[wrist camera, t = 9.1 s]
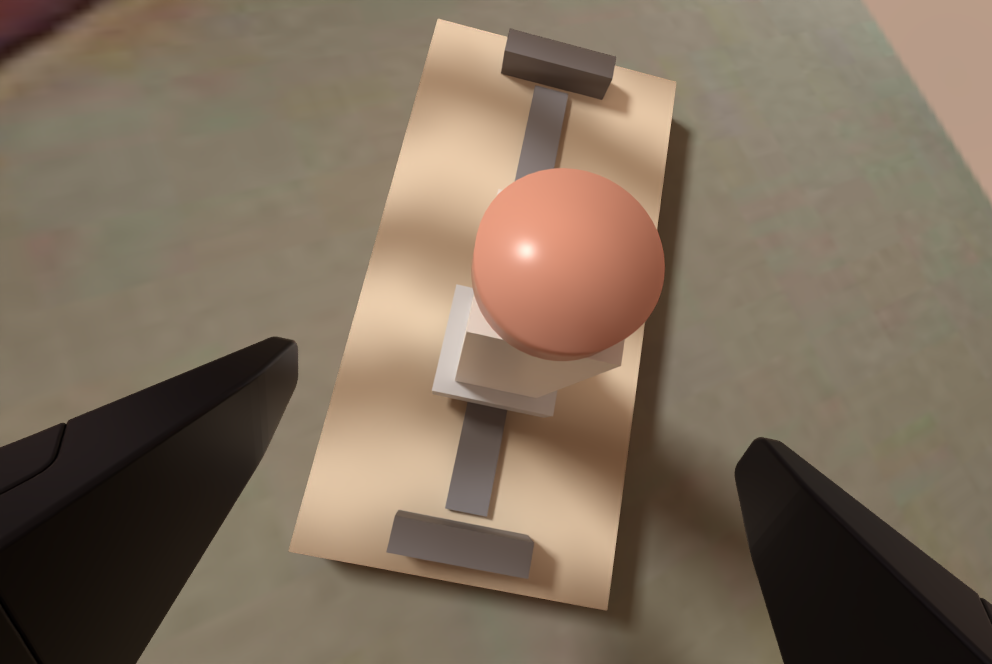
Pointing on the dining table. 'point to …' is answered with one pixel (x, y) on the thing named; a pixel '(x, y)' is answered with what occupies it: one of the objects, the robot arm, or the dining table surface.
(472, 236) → the slider console
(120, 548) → the robot arm
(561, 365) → the slider lever
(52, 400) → the dining table surface
